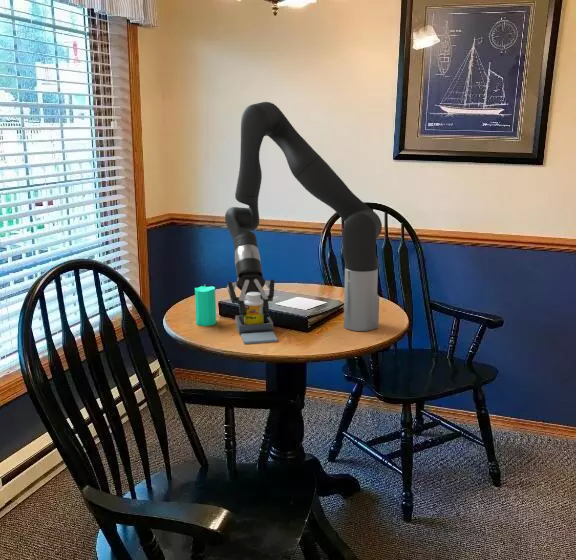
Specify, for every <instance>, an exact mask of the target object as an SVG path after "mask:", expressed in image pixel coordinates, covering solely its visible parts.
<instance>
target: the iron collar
mask: <svg viewBox="0 0 576 560" xmlns="http://www.w3.org/2000/svg"><path fill="white" fill-rule="evenodd" d="M234 319H235V320H234V322H235V327H236V329H237V332H238V334H239V335H240V336H241V334H246V333H260V332H274V331H275V330H274V326H275V325H274V322H273V320H272V318H271V317H270V316H269V317H267V323H263V324H247V325H244V316H242V314H239V315H234ZM274 333H275V332H274Z"/></svg>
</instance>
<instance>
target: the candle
mask: <svg viewBox="0 0 576 560" xmlns="http://www.w3.org/2000/svg"><path fill="white" fill-rule="evenodd" d="M194 302H195V303H194V304H195V305H194V306H195V323H196V324H195V325H197V326H201V327H208V326H214V325H215V324H217V309H216V307H217V306H216V304H217V303H216V302H217V301H216V287H215V286H206V285H201V286H198V287H194Z"/></svg>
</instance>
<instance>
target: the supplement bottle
mask: <svg viewBox="0 0 576 560" xmlns="http://www.w3.org/2000/svg"><path fill="white" fill-rule="evenodd" d="M244 306H245V316H244V324H243V325H247V324H263V323H264V308H263V300H262V299H261V295H260V293H259V292H249V293H247V294H246V296H245V299H244Z"/></svg>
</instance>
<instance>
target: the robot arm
mask: <svg viewBox="0 0 576 560" xmlns="http://www.w3.org/2000/svg"><path fill="white" fill-rule="evenodd" d="M266 136H267V137H269V138H270V139H271V140H272V141H273V142H274V143H275V144H276V145H277V146H278V147H279V149H280V150H281V151H282V152H283V155H284V156H285V158H286V159H285V160H286V162H287V165H288V167H289V170H290V172H291V174H292V176H293V177H294V178H295V179H296V180H297V181H298V182H299V183H300V185H301V186H303V188H304V189H305V190H306V191H307V192H308V193H309V194H311V195H312V196H313V197H315V198H316V199H318V200H319V201H320V202H322V203H324V204H325V205H327V206H328V207H329V208H331V209H332V210H333V211H335V213H337V215H338V216H339V217H340V218H341V219H342V221H343V222H344V224H343V229H342V256H343V260H344V291H343V292H344V293H343V294H344V298H343V300H344V302H343V327H344V328H345V329H348V330H350V331H354V332H355V331H356V332H367V331H373V330H374V329H379V325H380V323H379V321H380V295H379V294H378V277H379V276H378V275H379V259H378V257H377V252H376V251H377V239H378V237H380V235H381V233H382V230H383V223H382V220H381V218H380V217H379V215H378V214H377V213H376V211H374V210H373V209H372V208H370V206H368V205H367V204H366V203H365V202H364V201H362V200H361V199H360V198H359V197H357V195H355V194H354V192H352V190H351V189H350V188H349V187H348V186H347V185H346V183H345V182H344V181H343V179H341V177H340V175H338V174H337V173H336V172H335V171H334V169H333V168H332V167H331V166H330V165H329V164H328V163H327V162H326V161H325V160H324V158H322V156H321V155H319V154H318V152H317V151H315V149H314V148H313V147H312V146H311V145H310V144H309V143H308V142H307V141H306V140H305V138H303V136H301V135H300V133H299V132H298V131H297V130H296V129H295V127H294V126H293V124H292V123H291V122H290V121H289V119H288V118H287V117H286V116H285V114H284V113H283V112H282V110H281V109H280V108H279V107H278V106H277V105H276V104H275V103H273V102H269V101H261V102H258V103H253V104H250V105H248V106H246V107H245V108H244V110H243V112H242V114H241V121H240V155H239V156H240V157H239V159H240V161H239V171H238V177H237V183H236V187H235V193H234V194H235V196H234V197H235V200H236V201H237V202H238V203H241V204H243V205H246V206H248V207H238V206H237V207H236V206H231V207H229V208H228V209H227V210H226V212H225V215H224V221H225V224H226V225H225V226H226V227H227V230H228V232H229V234H230V236H231V239H232V241H233V248H234V265H235V270H236V271H235V272H236V281H234V282H232V281H227V285H226V286H227V287H226V288H227V291H228V295H229V298H230V301H231V303H232V304H237V305H238V310H239V315H242V316H245V306H244V301H245V299H246V297H247V295H246V294H247V293H249V292H259V293H260V295H261V299H262V300H263V308H264V315H266V314H269V310H270V308H269V302H273V300H274V296H275V280H274V279H270V280H266V279H265V278H264V275H263V268H262V262H261V255H260V251H259V247H258V239H257V236H256V234H255V233H254V231H256V230H257V228H258V227H259V225H260V213H259V195H260V190H261V185H262V179H263V178H262V175H263V174H262V173H263V172H262V168H261V161H260V151H261V146H262V143H263V140H264V139H265V138H264V137H266ZM265 286H266V288H267V289H268V295H267V294H266V292H265V289H264V287H265ZM236 288H238V289H239V290H240V294H239V297H238V296H237V294H236V291H235V290H236Z"/></svg>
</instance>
